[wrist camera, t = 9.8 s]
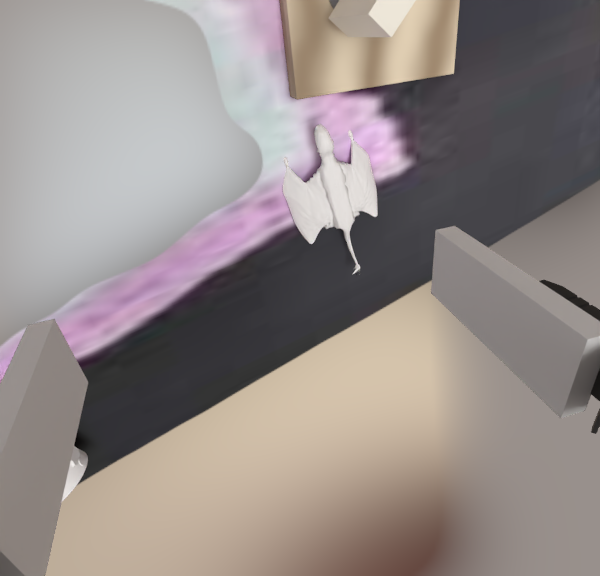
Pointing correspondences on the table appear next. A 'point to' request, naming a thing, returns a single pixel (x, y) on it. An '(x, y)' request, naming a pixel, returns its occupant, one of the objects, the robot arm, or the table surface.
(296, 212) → the winged dragon toy
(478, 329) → the robot arm
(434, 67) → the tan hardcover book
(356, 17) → the white upright block
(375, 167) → the table surface
